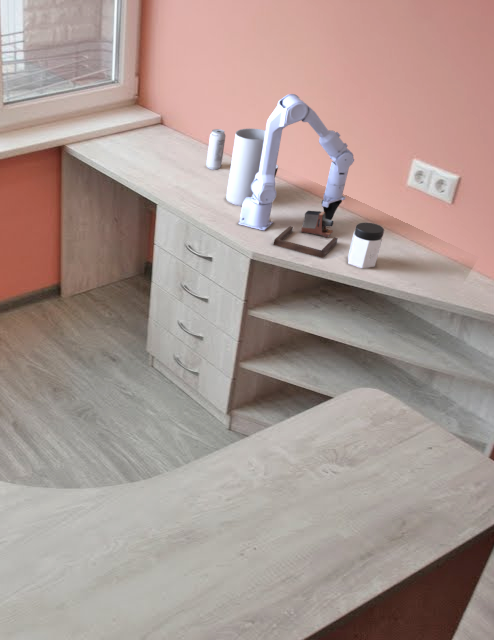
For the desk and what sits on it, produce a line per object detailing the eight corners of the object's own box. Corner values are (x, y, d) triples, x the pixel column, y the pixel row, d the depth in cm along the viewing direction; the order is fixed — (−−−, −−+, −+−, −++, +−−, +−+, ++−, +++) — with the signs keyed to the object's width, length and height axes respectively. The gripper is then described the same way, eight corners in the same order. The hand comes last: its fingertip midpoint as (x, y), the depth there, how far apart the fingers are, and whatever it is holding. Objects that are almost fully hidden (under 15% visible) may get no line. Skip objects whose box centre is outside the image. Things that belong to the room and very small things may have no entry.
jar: (355, 269, 249) (365, 234, 243) (341, 258, 256) (349, 223, 249) (381, 266, 251) (391, 231, 244) (365, 255, 258) (375, 220, 251)
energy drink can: (213, 163, 328) (218, 127, 320) (224, 168, 324) (229, 131, 316) (202, 166, 326) (207, 130, 317) (213, 171, 321) (218, 134, 313)
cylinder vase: (224, 205, 293) (234, 138, 279) (226, 192, 303) (236, 127, 289) (259, 208, 290) (272, 141, 276) (260, 195, 300) (272, 130, 286)
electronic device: (328, 238, 268) (333, 217, 264) (300, 232, 273) (304, 211, 269) (332, 234, 271) (337, 213, 267) (304, 228, 276) (308, 207, 272)
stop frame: (273, 244, 265) (274, 239, 264) (288, 231, 274) (289, 225, 272) (322, 258, 256) (323, 252, 255) (336, 243, 265) (338, 238, 264)
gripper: (340, 192, 263) (331, 229, 271) (355, 178, 272) (346, 215, 280) (319, 187, 267) (311, 224, 274) (334, 174, 276) (326, 211, 284)
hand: (327, 220), depth 277 cm, fingers closed
